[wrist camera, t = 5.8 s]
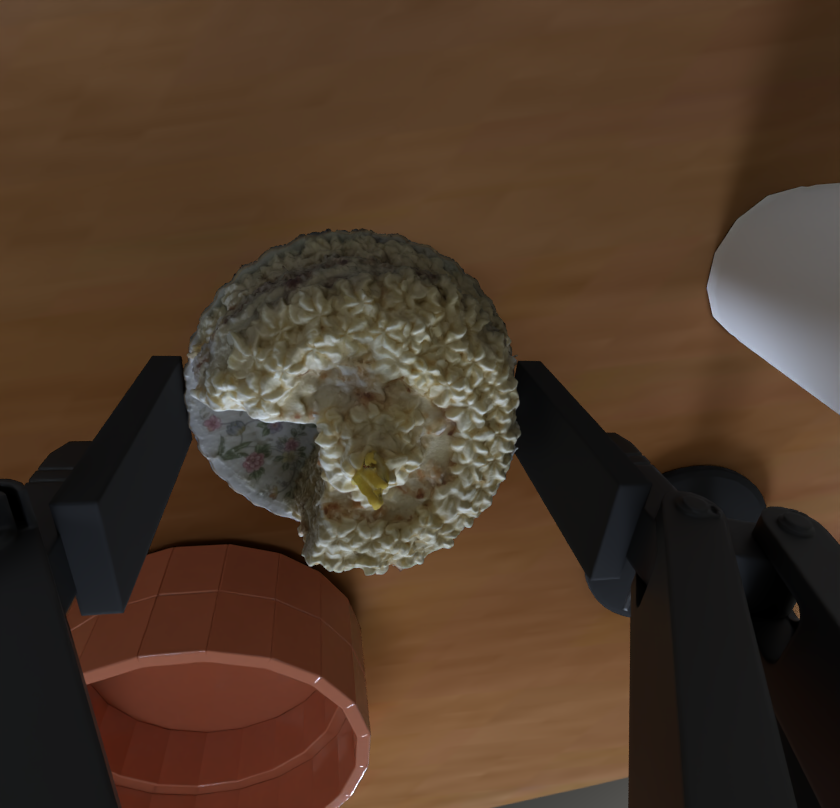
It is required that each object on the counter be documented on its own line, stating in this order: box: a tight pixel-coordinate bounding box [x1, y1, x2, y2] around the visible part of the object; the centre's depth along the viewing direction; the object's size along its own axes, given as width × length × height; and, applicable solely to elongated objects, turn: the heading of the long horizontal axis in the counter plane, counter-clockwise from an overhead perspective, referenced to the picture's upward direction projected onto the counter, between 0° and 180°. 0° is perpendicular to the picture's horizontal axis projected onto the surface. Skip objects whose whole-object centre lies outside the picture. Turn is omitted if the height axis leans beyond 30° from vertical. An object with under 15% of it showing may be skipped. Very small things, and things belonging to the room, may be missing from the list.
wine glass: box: [585, 466, 821, 808], centre depth 20 cm, size 10×10×20 cm
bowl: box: [66, 544, 371, 808], centre depth 24 cm, size 14×14×6 cm
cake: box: [183, 229, 521, 576], centre depth 14 cm, size 10×10×5 cm
